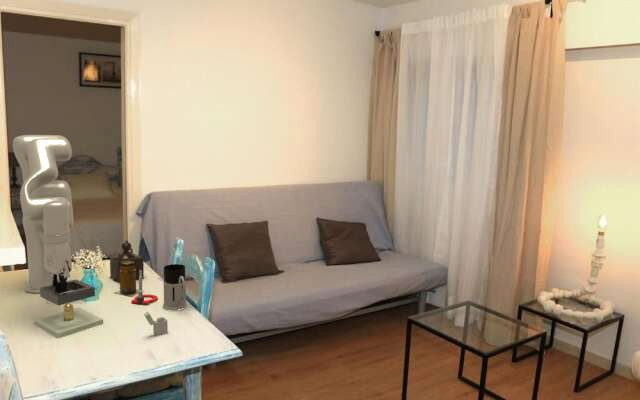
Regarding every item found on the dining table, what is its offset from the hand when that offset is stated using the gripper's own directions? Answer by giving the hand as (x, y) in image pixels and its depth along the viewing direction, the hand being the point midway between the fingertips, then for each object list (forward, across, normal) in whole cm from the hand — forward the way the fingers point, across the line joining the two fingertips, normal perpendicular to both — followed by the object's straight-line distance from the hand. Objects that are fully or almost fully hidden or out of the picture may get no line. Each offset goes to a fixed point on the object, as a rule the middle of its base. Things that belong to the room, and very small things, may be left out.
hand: (60, 291), depth 170 cm
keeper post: (+9, +5, 0) cm, 10 cm away
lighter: (+11, +33, +14) cm, 37 cm away
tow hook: (+10, +5, +29) cm, 31 cm away
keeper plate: (+10, +5, 0) cm, 11 cm away
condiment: (+10, -7, +30) cm, 33 cm away
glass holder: (+10, +20, +32) cm, 39 cm away
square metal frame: (0, +5, 0) cm, 5 cm away
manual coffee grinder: (+10, -20, +38) cm, 44 cm away
